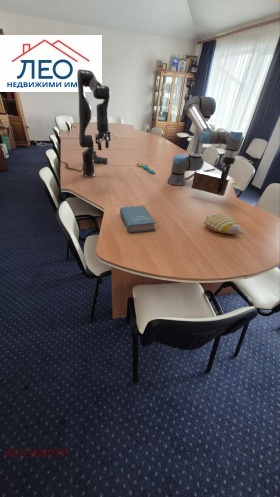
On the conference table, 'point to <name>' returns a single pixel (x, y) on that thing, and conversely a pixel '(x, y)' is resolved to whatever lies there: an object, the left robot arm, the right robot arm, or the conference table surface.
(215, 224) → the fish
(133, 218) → the book
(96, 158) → the laser sight
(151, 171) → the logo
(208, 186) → the box
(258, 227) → the conference table surface
